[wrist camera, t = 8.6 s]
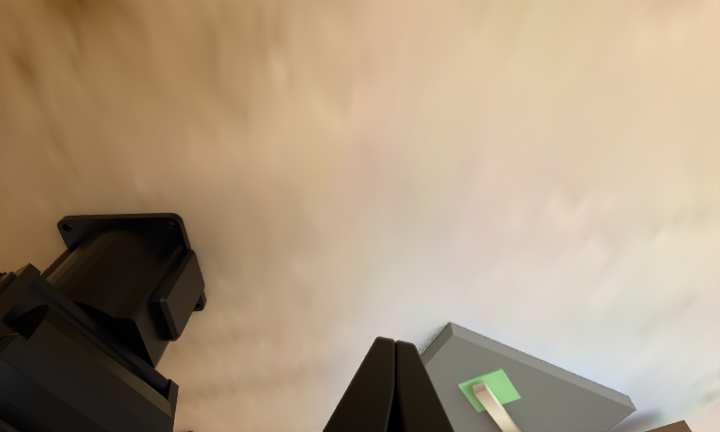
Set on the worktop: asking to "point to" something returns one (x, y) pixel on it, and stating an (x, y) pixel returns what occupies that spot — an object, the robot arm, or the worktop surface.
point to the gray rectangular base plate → (516, 388)
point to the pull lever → (509, 428)
